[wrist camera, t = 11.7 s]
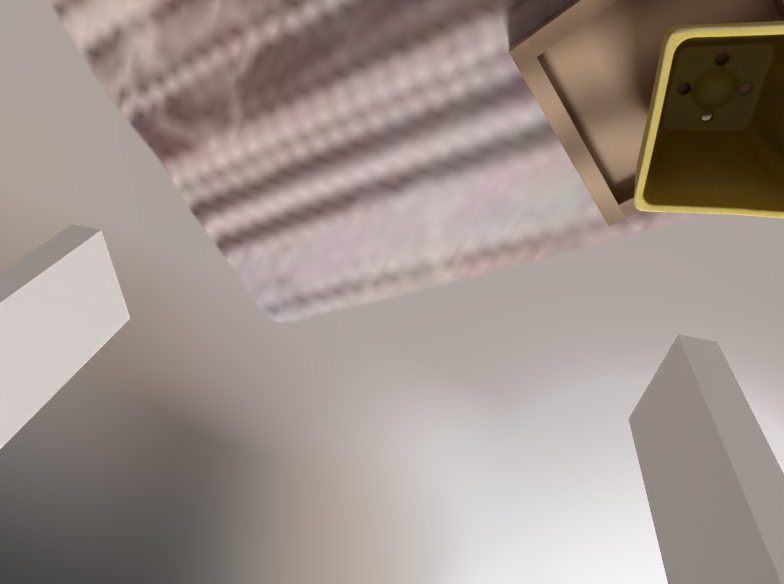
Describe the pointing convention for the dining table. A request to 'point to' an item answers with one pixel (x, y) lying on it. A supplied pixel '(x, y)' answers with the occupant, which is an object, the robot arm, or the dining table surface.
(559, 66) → the walnut tray
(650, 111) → the flower pot
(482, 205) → the dining table surface
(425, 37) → the dining table surface
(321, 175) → the dining table surface
